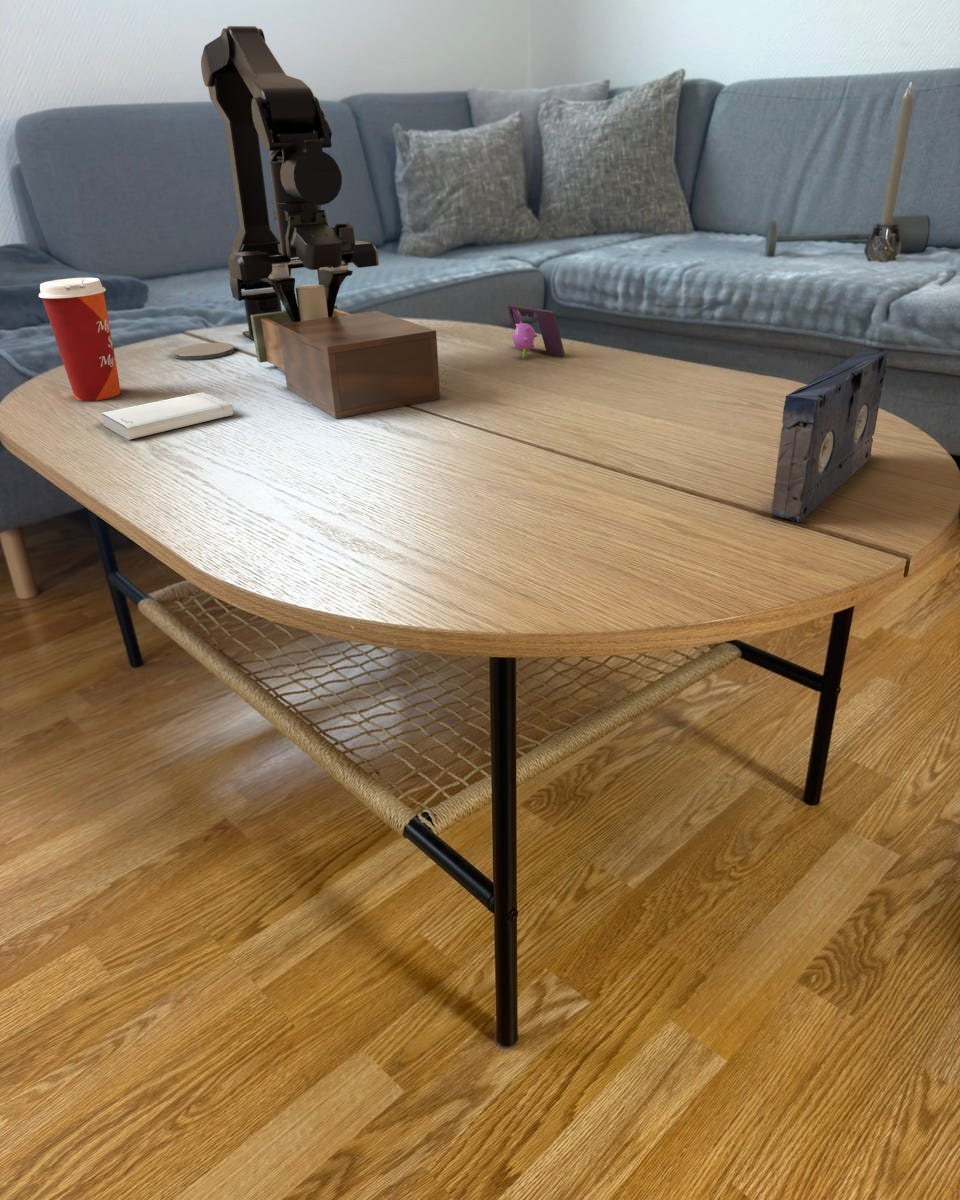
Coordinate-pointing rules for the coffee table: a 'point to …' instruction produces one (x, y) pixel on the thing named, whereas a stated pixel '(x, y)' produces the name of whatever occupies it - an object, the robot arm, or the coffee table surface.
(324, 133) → the robot arm
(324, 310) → the candle
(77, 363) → the paper cup
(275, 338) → the drawer
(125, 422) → the hard drive
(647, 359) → the coffee table surface
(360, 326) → the cabinet
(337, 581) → the coffee table surface
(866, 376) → the vhs cassette tape
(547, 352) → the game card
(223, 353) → the coaster
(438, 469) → the coffee table surface
